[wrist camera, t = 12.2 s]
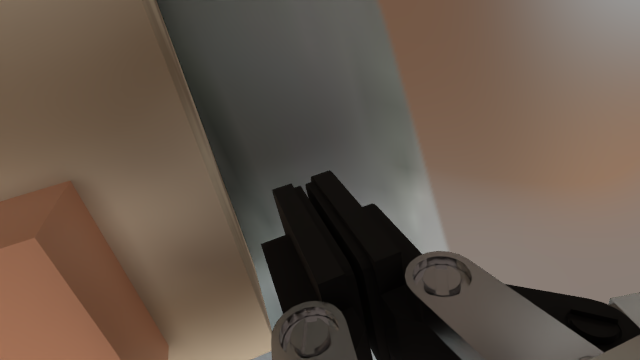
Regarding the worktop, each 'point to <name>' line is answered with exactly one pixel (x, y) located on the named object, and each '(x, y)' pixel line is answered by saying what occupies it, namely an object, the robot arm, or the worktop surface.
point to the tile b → (66, 286)
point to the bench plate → (130, 163)
